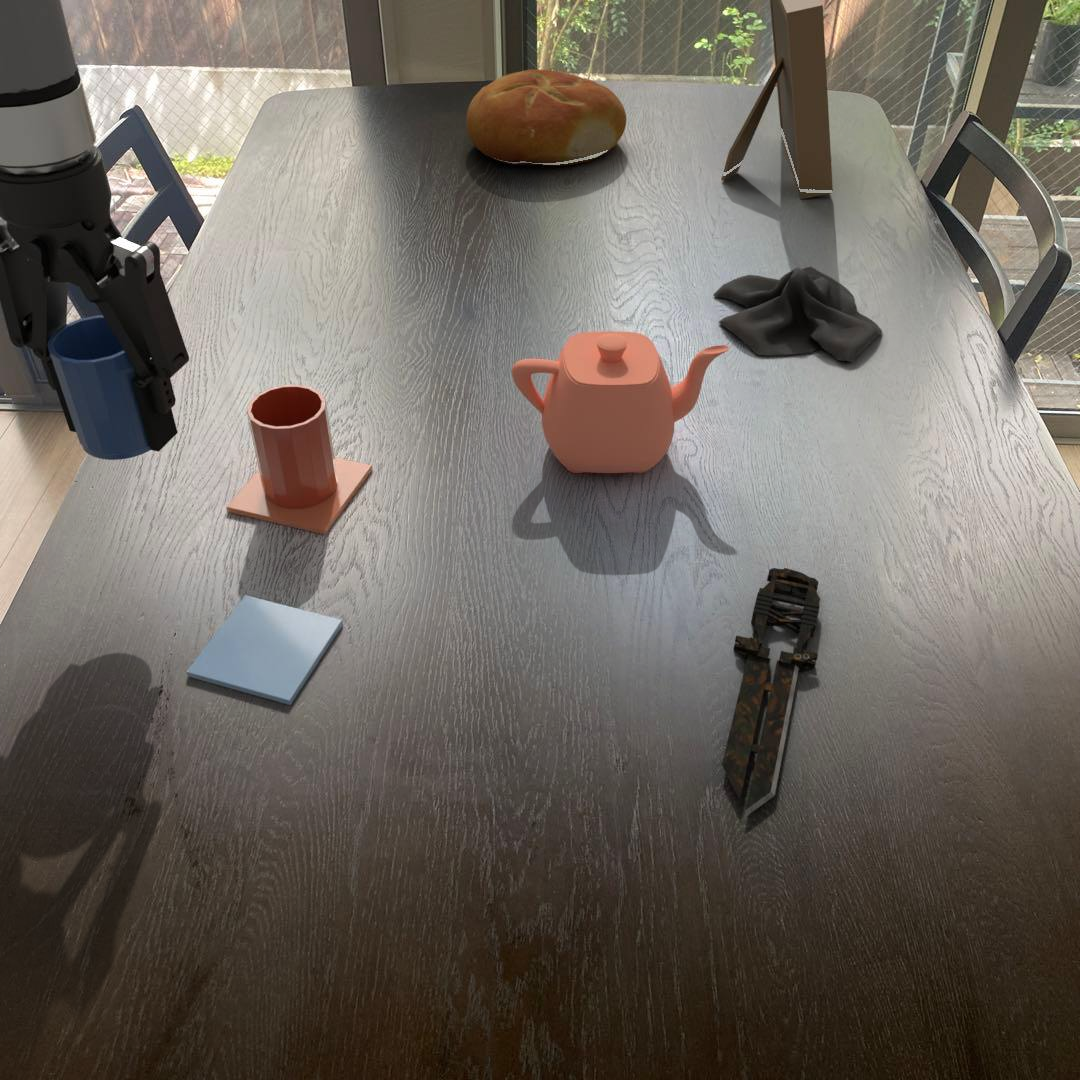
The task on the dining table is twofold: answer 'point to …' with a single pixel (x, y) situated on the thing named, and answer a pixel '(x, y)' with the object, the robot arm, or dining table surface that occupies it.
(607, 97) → the bread
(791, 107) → the photo frame
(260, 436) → the red cup
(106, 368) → the blue cup
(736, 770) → the knife
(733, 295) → the cloth
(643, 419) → the teapot
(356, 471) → the red pad
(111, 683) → the dining table surface
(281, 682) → the blue pad
